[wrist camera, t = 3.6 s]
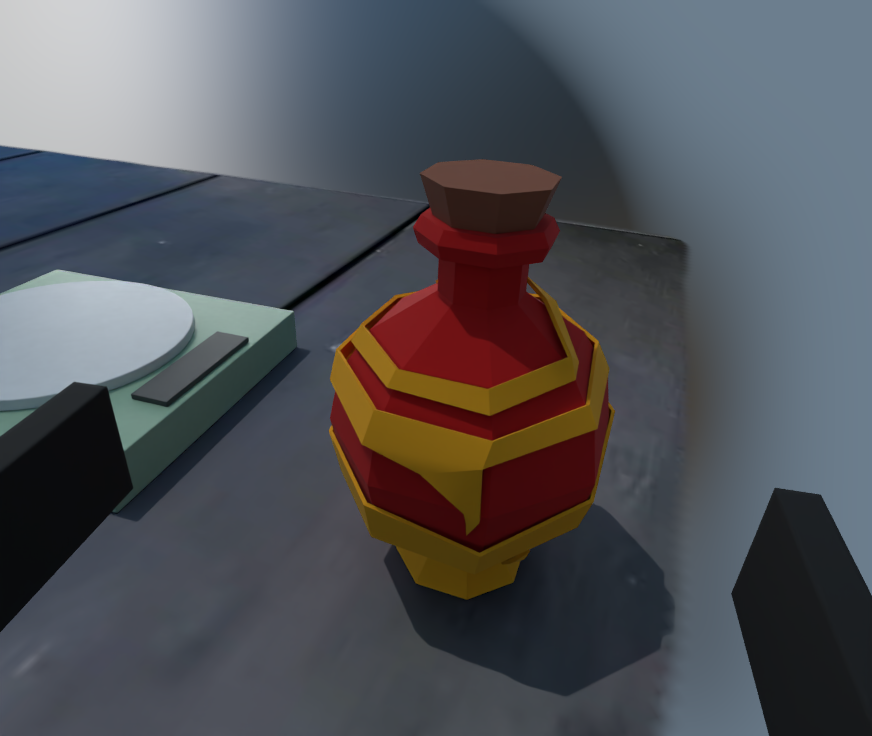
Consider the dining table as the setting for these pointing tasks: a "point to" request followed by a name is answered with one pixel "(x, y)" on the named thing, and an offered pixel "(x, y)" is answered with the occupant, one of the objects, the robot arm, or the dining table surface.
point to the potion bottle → (473, 391)
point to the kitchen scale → (136, 357)
